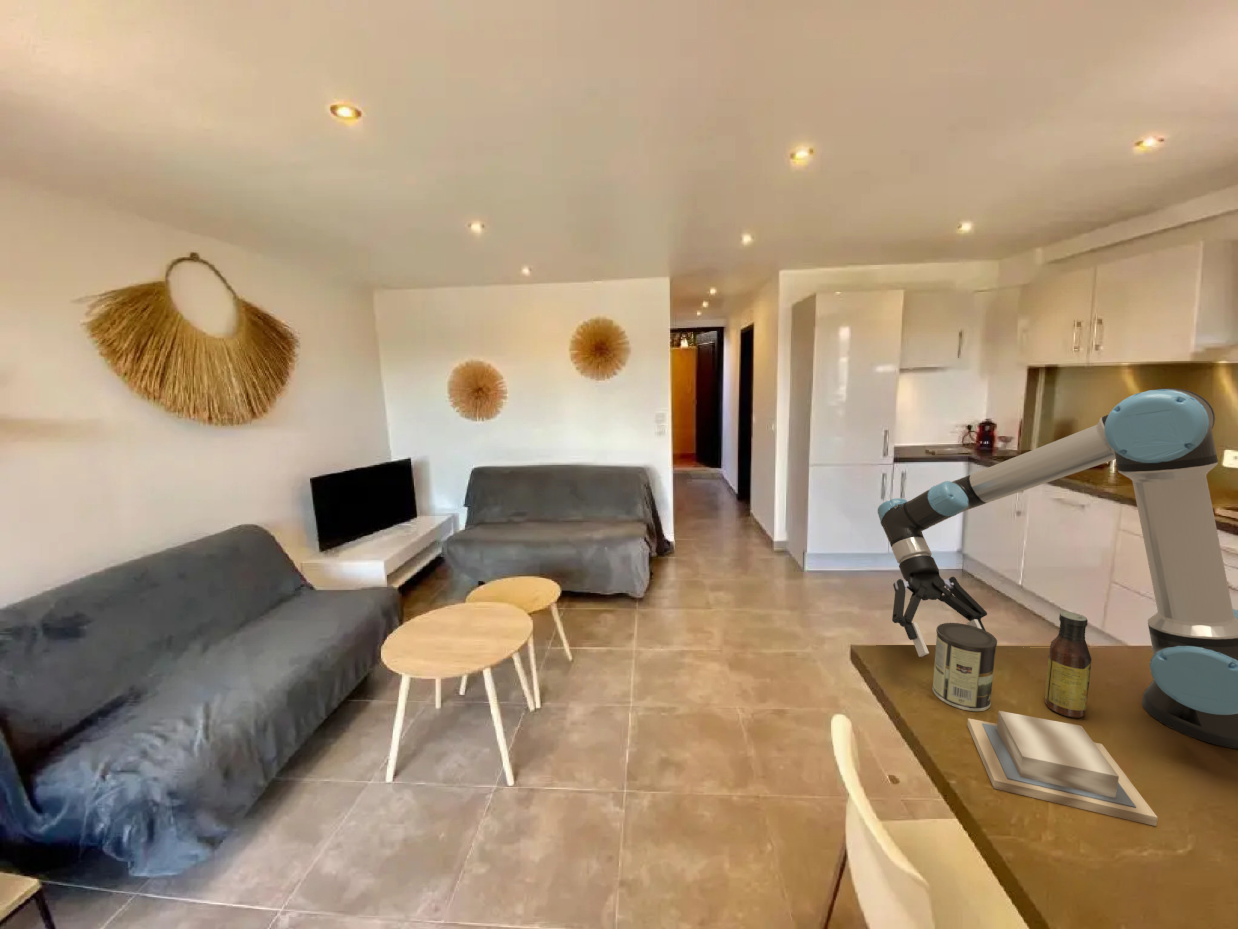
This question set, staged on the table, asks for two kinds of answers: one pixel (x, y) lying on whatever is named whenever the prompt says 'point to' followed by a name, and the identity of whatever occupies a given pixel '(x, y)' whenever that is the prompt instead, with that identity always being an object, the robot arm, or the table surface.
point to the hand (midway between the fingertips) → (955, 653)
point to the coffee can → (964, 666)
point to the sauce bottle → (1069, 667)
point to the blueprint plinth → (1057, 795)
